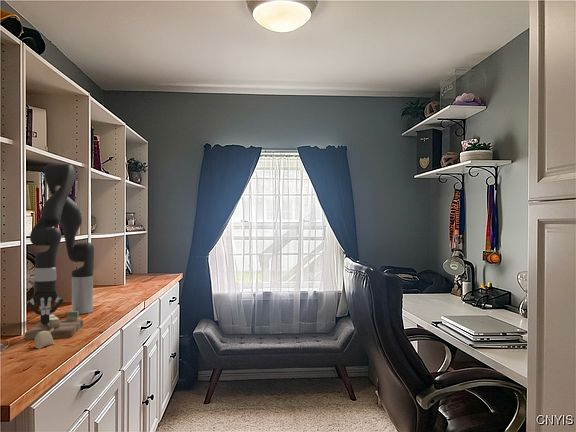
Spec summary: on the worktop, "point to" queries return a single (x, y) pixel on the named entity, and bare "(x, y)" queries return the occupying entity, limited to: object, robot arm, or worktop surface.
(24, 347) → the worktop surface
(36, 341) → the decorative ornament
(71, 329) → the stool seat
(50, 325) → the ash leg
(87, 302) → the robot arm
